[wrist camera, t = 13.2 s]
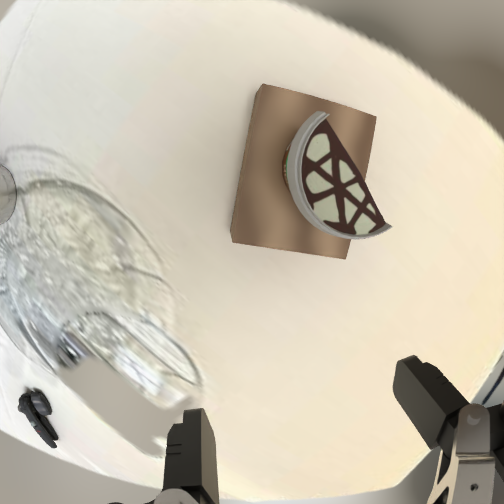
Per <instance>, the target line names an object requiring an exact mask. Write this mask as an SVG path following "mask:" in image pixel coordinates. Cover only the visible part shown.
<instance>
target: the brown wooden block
mask: <svg viewBox="0 0 504 504" xmlns="http://www.w3.org/2000/svg"><path fill="white" fill-rule="evenodd" d="M317 111H322V112H325V113H326V114H330V115H329V116H327V117H326V119H327V121H328V122H329V124H330V125H331V127H332V129H333V130H334V132H335V133H336V135H337V137H338V138H339V140H340V141H341V143H342V145H343V146H344V148H345V149H346V151H347V153H348V154H349V156H350V157H351V159H352V160H353V162H354V163H355V165H356V167H357V168H358V170H359V171H360V173H361V175H362V177H363V179H364V181H365V177H366V173H367V168H368V163H369V158H370V152H371V147H372V141H373V136H374V130H375V124H376V118H377V117H376V116H373V115H370V114H368V113H365V112H362V111H359V110H356V109H353V108H350V107H347V106H344V105H341V104H338V103H335V102H331V101H328V100H325V99H321V98H318V97H314V96H311V95H307V94H303V93H300V92H296V91H292V90H288V89H284V88H279V87H275V86H271V85H266V84H262V85H261V87H260V88H259V90H258V91H257V93H256V96H255V101H254V106H253V111H252V116H251V121H250V126H249V131H248V137H247V142H246V147H245V152H244V157H243V163H242V168H241V173H240V179H239V184H238V190H237V195H236V201H235V206H234V212H233V218H232V223H231V229H230V232H231V237H232V242H233V243H240V244H246V245H253V246H260V247H267V248H273V249H280V250H287V251H293V252H300V253H307V254H313V255H320V256H326V257H333V258H339V259H346V256H347V253H348V249H349V245H350V241H351V239H346V238H341V237H337V236H332V235H329V234H327V233H325V232H323V231H321V230H319V229H318V228H316V227H315V226H313V225H312V224H311V223H310V222H309V221H308V220H307V219H306V218H305V217H304V216H303V214H302V213H301V212H300V211H299V209H298V207H297V205H296V204H295V202H294V200H293V197H292V194H291V193H290V191H289V190H288V188H287V187H286V185H285V182H284V178H283V175H282V160H283V157H284V154H285V150H286V148H287V146H288V145H289V144H290V142H291V141H292V139H293V138H294V137H295V135H296V133H297V132H298V130H299V129H300V127H301V126H302V124H303V123H304V122H305V121H306V120H307V119H308V118H309V117H310V116H311V115H313V114H314V113H315V112H317Z"/></svg>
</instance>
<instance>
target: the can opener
mask: <svg viewBox="0 0 504 504" xmlns="http://www.w3.org/2000/svg"><path fill="white" fill-rule="evenodd" d="M18 411H20V412H22V413H24V414H25V415H26V417H27V418H28V420H29V422H30V423H31V425H32V426H33V428H34V429H35V430H36V432H37V433H38V434H39V435H40V437H41V438H42V439H43V440H44V441H45V442H46V443H47V444H48V445H49V446H50V447H51V448H57V445H56V443H55V442H54V441H56V440H58V436H57V434H56V433H55V431H54V430H53V428H52V427H51V425H50V424H49V423H48V422H47V420H46V419H45V417H44V416H45V415H51V414H52V412H51V407H50V405H49V403H48V401H47V399H46V398H45V397H44V396H43V395H42V394H41V393H37V392H33V391H32V392H31V394H29V393H25V394H23V395H21V397H20V398H19V406H18ZM53 440H54V441H53Z"/></svg>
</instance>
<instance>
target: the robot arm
mask: <svg viewBox="0 0 504 504" xmlns="http://www.w3.org/2000/svg"><path fill="white" fill-rule="evenodd" d="M15 202H16V188H15V184H14V180H13V178H12V176H11V174H10V172H9V171H8V170H7V169H6V168H5V167H3V166H1V165H0V224H3V223H5V222H6V221H7V220H8V219H9V218H10V217H11V215H12V213H13V211H14V207H15ZM393 392H394V395H395V398H396V399H397V401H398V402H399V404H400V405H401V407H402V408H403V410H404V411H405V412H406V414H407V415H408V417H409V418H410V420H411V421H412V423H413V424H414V426H415V427H416V429H417V430H418V432H419V433H420V435H421V436H422V438H423V439H424V441H425V442H426V444H427V445H428V447H429V448H430V450H432V449H433V448H435V447H437V446H440V447H441V449H442V450H441V452H440V458H439V463H438V468H437V474H436V478H435V483H434V487H433V490H432V493H431V495H430V497H429V499H428V502H427V504H491V501H492V493H493V484H494V472H495V468H496V470H497V472H498V473H499V475H500V476H501V478H502V480H503V481H504V402H503V403H502V404H499V405H495V406H492V407H488V408H485V407H484V406H483V405H480V404H476V403H473V404H470V403H469V402H468V401H467V400H466V399H465V398H464V397H463V396H462V394H461V393H460V392H459V391H458V390H457V389H456V388H455V387H454V386H453V384H452V383H451V382H449V380H448V379H447V378H446V377H445V376H443V373H442V372H441V371H440V370H439V369H438V368H437V367H435V366H434V365H432V364H430V363H428V362H425V363H422V362H421V361H420V360H419V358H418V357H417V356H415V355H412V356H409V357H407V358H404V359H402V360H399V361H398V362H397V364H396V371H395V377H394V382H393ZM109 504H122V503H116V502H115V503H109ZM145 504H219V492H218V477H217V461H216V443H215V437H214V433H213V430H212V427H211V425H210V423H209V420H208V418H207V415H206V413H205V410H204V409H203V408H199V409H191V410H184V413H183V423H179V424H173V426H172V428H171V429H170V431H169V433H168V437H167V447H166V457H165V469H164V482H163V489H162V492H161V493H160V494H159V495H158V496H157V497H156V499H154V500H153V501H151V502H149V503H145Z"/></svg>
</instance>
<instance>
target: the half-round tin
mask: <svg viewBox="0 0 504 504" xmlns="http://www.w3.org/2000/svg"><path fill="white" fill-rule="evenodd" d="M329 115H330V114H326V113H325V112H322V111H317V112H315V113H314V114H313V115H311V116H310V117H309V118H308V119H307V120H306V121H305V122H304V123H303V124H302V126H301V127H300V129H299V130H298V132H297V133H296V135H295V137H294V138H293V139H292V141H291V142H290V144H289V145H288V146H287V148H286V150H285V154H284V157H283V160H282V175H283V178H284V182H285V185H286V187H287V188H288V190H289V191H290V193H291V194H292V197H293V200H294V202H295V204H296V205H297V207H298V209H299V211H300V212H301V213H302V214H303V216H304V217H305V218H306V219H307V220H308V221H309V222H310V223H311V224H312V225H313V226H315V227H316V228H318V229H319V230H321V231H323V232H325V233H327V234H329V235H332V236H337V237H341V238H346V239H365V238H369V237H373V236H376V235H379V234H381V233H383V232H386V231H387V230H389V229H390V228H392V226H391V225H389V224H388V223H386V222H385V221H384V219H383V216H382V215H381V213H380V212H379V210H378V208H377V206H376V204H375V202H374V200H373V198H372V196H371V194H370V192H369V190H368V187H367V185H366V183H365V181H364V179H363V177H362V175H361V173H360V171H359V170H358V168H357V167H356V165H355V163H354V162H353V160H352V159H351V157H350V156H349V154H348V153H347V151H346V149H345V148H344V146H343V145H342V143H341V141H340V140H339V138H338V137H337V135H336V133H335V132H334V130H333V129H332V127H331V125H330V124H329V122H328V121H327V119H326V117H327V116H329Z"/></svg>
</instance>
